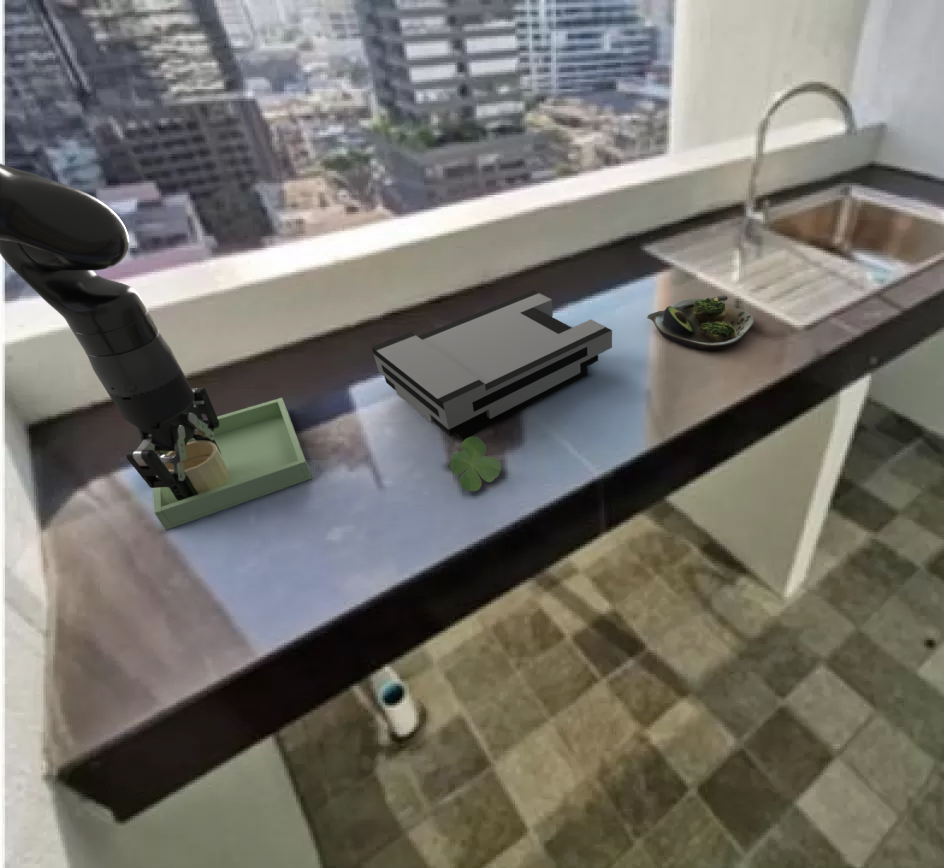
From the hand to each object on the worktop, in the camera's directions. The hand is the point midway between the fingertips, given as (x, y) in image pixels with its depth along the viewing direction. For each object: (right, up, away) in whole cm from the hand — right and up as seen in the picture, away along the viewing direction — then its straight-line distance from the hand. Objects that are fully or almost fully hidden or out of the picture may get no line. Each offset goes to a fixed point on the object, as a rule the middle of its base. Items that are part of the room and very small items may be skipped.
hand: (202, 480), depth 80 cm
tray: (+1, +2, +5) cm, 5 cm away
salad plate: (+72, +26, +34) cm, 84 cm away
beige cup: (0, -1, 0) cm, 1 cm away
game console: (+36, +15, +22) cm, 45 cm away
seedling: (+35, 0, +3) cm, 36 cm away
